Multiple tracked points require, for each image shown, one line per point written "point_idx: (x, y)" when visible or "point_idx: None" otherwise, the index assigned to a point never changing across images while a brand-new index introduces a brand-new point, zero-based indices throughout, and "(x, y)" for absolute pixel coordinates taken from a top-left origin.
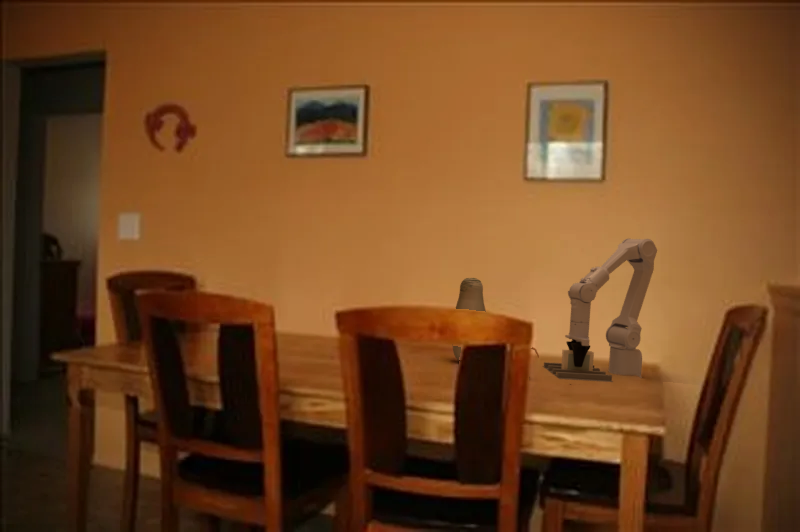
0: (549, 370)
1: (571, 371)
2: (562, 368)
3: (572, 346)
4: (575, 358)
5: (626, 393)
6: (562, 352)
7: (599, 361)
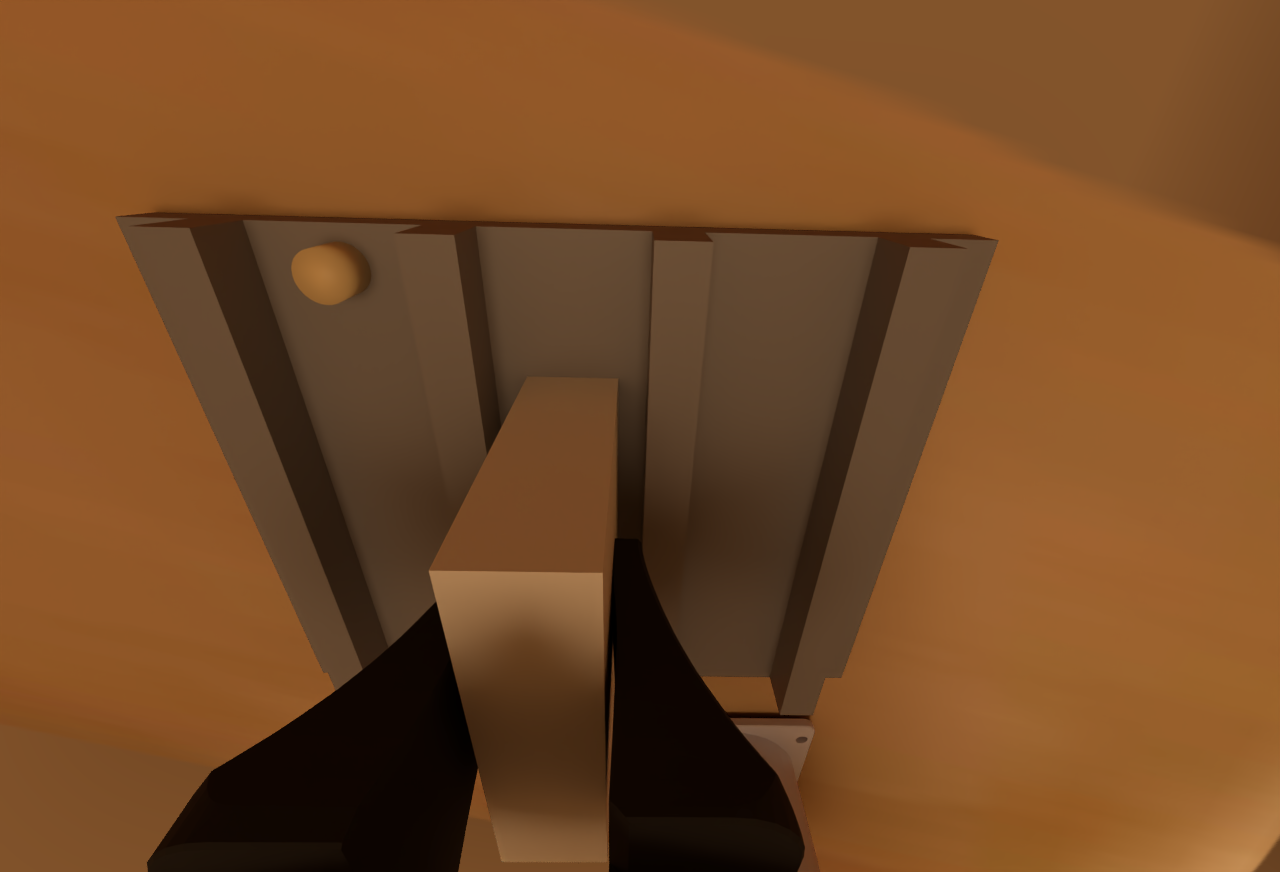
0: (652, 241)
1: (446, 458)
2: (563, 398)
3: (283, 771)
4: (435, 610)
5: (81, 645)
6: (596, 529)
7: (1211, 788)
